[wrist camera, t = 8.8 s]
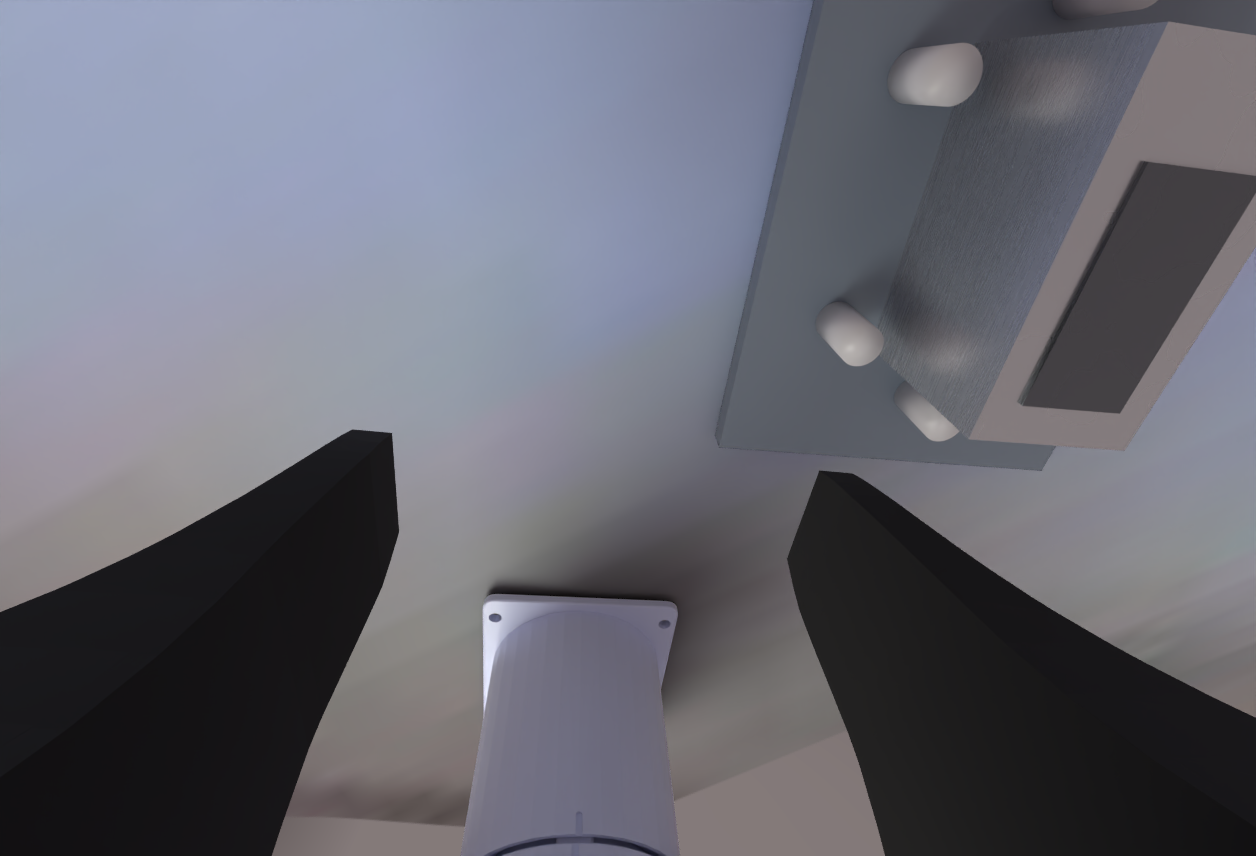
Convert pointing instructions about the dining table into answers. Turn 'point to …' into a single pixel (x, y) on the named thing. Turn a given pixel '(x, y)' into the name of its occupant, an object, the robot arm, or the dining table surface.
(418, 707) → the dining table surface
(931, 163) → the grey knobbed plate
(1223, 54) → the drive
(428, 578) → the dining table surface
